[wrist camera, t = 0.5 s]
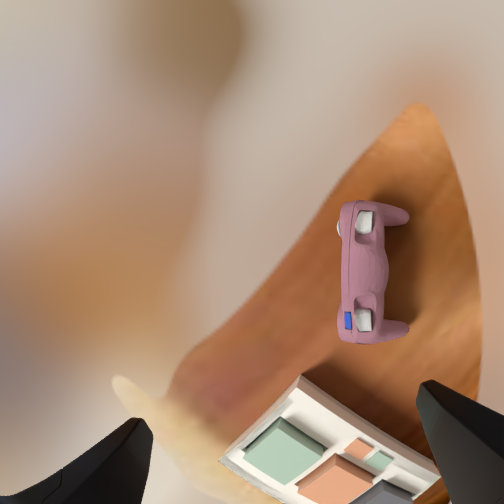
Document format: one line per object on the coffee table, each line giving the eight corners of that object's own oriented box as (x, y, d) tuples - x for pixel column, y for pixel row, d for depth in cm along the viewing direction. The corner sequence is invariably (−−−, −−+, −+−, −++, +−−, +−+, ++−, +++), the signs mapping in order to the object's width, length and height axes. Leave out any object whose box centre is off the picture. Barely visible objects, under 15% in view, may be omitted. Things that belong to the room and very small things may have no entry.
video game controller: (359, 215, 22) (321, 191, 17) (410, 210, 19) (390, 180, 14) (358, 334, 21) (318, 351, 16) (410, 337, 18) (390, 359, 13)
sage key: (323, 443, 17) (322, 457, 15) (288, 471, 17) (284, 485, 15) (282, 415, 18) (277, 427, 16) (249, 445, 19) (242, 458, 17)
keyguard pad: (432, 460, 16) (441, 478, 13) (358, 518, 16) (358, 537, 13) (300, 374, 20) (295, 388, 17) (229, 444, 21) (217, 462, 18)
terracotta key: (370, 470, 16) (373, 485, 14) (335, 497, 16) (334, 511, 14) (335, 450, 17) (335, 464, 15) (300, 478, 17) (297, 492, 15)
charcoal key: (409, 489, 14) (413, 503, 12) (375, 514, 14) (376, 528, 12) (380, 476, 15) (383, 490, 13) (345, 501, 16) (345, 516, 13)
